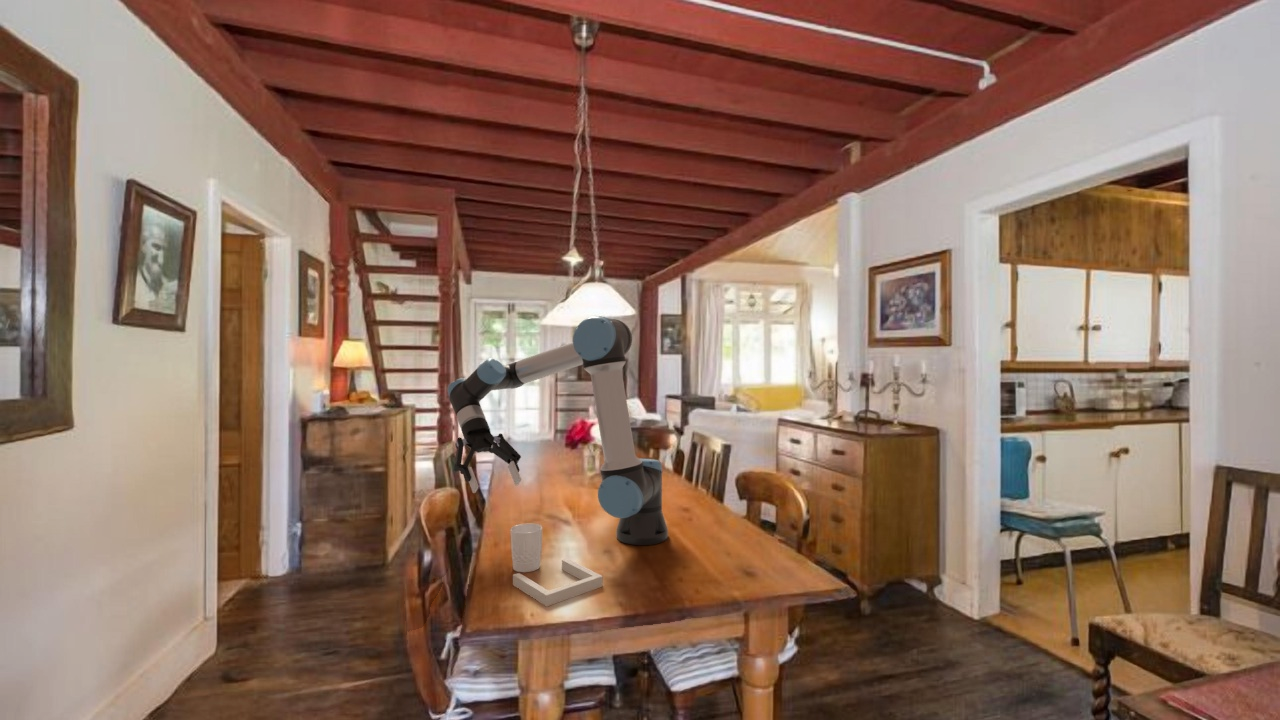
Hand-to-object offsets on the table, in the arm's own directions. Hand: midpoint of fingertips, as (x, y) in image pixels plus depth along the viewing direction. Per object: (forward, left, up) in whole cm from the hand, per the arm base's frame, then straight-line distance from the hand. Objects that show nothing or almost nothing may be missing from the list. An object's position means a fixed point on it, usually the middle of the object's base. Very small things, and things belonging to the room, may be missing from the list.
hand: (497, 486), depth 149 cm
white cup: (-10, +11, -18) cm, 23 cm away
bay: (-19, +22, -18) cm, 34 cm away
